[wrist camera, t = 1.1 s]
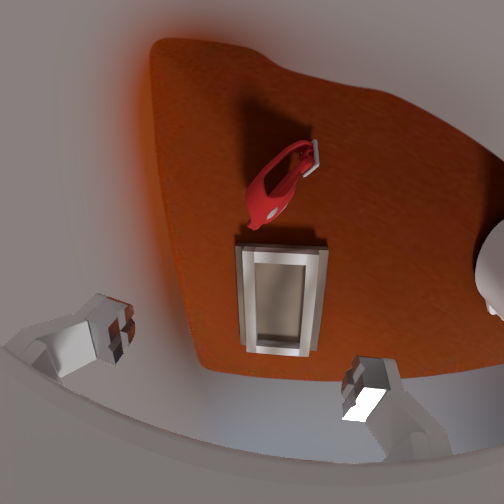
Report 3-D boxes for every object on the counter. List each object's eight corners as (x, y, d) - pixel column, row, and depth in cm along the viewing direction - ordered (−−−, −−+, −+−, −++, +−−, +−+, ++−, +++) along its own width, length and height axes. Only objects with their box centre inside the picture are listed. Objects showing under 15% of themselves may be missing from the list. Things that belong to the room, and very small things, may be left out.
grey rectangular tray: (327, 246, 37) (329, 255, 35) (316, 345, 44) (316, 357, 42) (237, 242, 39) (232, 250, 37) (242, 339, 46) (238, 350, 44)
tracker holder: (265, 222, 37) (252, 254, 29) (238, 200, 37) (216, 226, 28) (329, 150, 32) (338, 159, 23) (300, 126, 32) (298, 125, 23)
